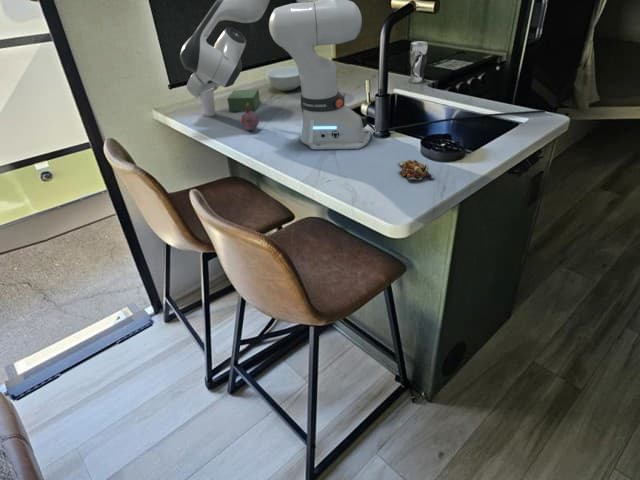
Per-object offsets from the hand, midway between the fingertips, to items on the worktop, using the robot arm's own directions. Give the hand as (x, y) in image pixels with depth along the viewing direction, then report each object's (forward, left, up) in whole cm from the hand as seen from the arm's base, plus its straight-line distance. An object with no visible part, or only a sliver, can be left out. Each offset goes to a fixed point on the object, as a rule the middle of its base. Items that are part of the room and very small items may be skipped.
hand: (204, 92), depth 161 cm
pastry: (-81, +34, -8) cm, 88 cm away
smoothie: (-1, 0, -8) cm, 8 cm away
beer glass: (-73, -48, -8) cm, 87 cm away
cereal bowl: (-20, -34, -8) cm, 40 cm away
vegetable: (-24, +13, -8) cm, 28 cm away
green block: (-11, -10, -8) cm, 17 cm away
